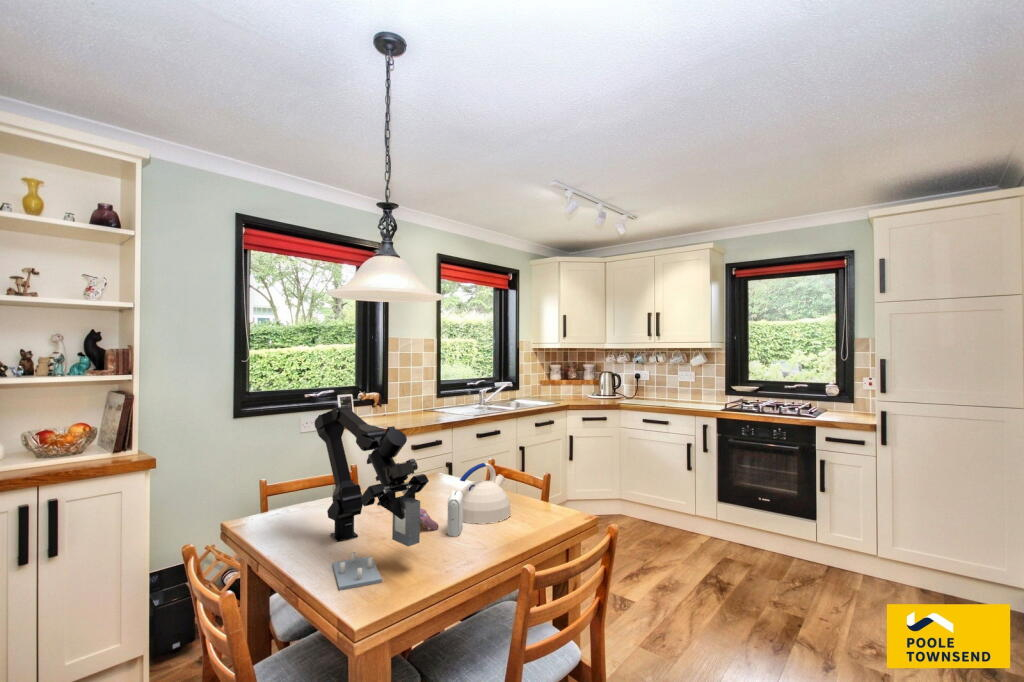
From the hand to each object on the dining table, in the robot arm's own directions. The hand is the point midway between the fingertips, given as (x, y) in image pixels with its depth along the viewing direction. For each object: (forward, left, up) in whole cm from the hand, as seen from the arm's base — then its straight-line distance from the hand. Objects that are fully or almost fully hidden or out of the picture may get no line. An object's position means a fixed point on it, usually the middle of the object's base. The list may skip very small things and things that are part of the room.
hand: (409, 516), depth 128 cm
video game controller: (-25, +18, -14) cm, 33 cm away
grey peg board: (-5, -12, -13) cm, 19 cm away
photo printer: (-16, +24, -14) cm, 32 cm away
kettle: (-24, +40, -14) cm, 48 cm away
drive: (-1, 0, -7) cm, 7 cm away
